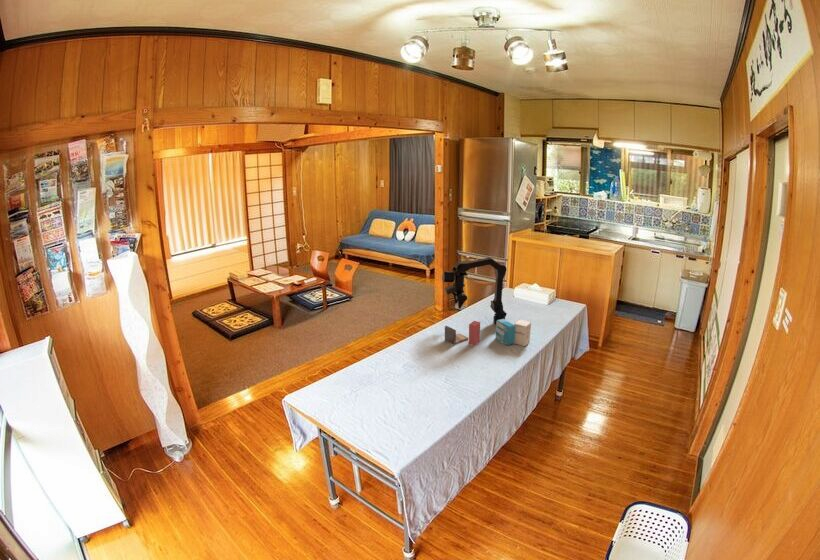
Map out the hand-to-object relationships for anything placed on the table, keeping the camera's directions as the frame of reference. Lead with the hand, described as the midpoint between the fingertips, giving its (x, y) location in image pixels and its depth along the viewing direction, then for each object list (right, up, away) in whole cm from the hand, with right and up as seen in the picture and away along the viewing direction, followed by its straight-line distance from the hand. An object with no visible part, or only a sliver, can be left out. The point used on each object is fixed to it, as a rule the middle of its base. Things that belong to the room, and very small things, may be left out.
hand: (457, 305), depth 263 cm
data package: (+26, -20, -16) cm, 36 cm away
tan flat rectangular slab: (-1, -19, -12) cm, 22 cm away
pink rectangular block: (+8, -20, -17) cm, 28 cm away
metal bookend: (-6, -20, -15) cm, 26 cm away
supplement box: (+35, -20, -18) cm, 44 cm away
